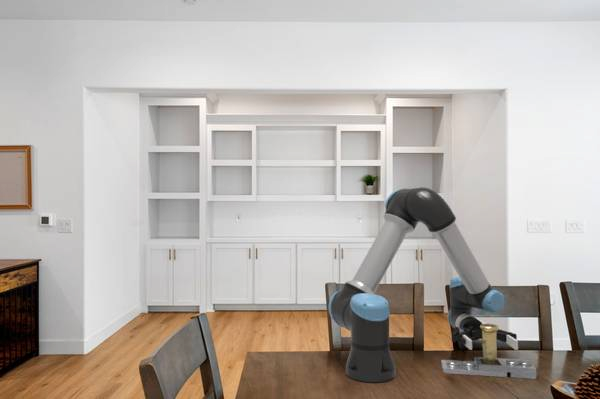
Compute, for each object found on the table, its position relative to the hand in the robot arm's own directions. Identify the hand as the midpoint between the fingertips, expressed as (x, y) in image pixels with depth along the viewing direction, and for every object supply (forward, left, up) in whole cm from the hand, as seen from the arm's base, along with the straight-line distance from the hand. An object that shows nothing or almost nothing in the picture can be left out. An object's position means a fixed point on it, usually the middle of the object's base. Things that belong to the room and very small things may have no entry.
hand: (493, 345), depth 137 cm
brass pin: (-1, +3, -9) cm, 10 cm away
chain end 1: (-6, +3, -9) cm, 11 cm away
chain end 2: (+3, +3, -9) cm, 10 cm away
